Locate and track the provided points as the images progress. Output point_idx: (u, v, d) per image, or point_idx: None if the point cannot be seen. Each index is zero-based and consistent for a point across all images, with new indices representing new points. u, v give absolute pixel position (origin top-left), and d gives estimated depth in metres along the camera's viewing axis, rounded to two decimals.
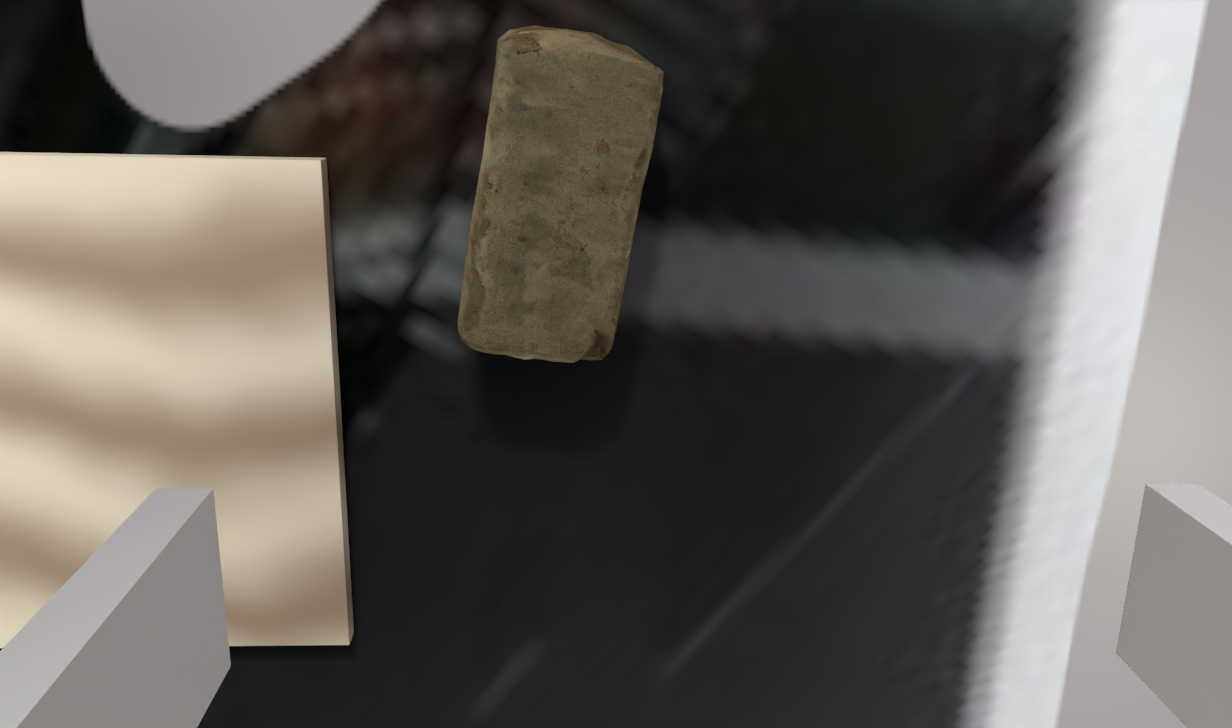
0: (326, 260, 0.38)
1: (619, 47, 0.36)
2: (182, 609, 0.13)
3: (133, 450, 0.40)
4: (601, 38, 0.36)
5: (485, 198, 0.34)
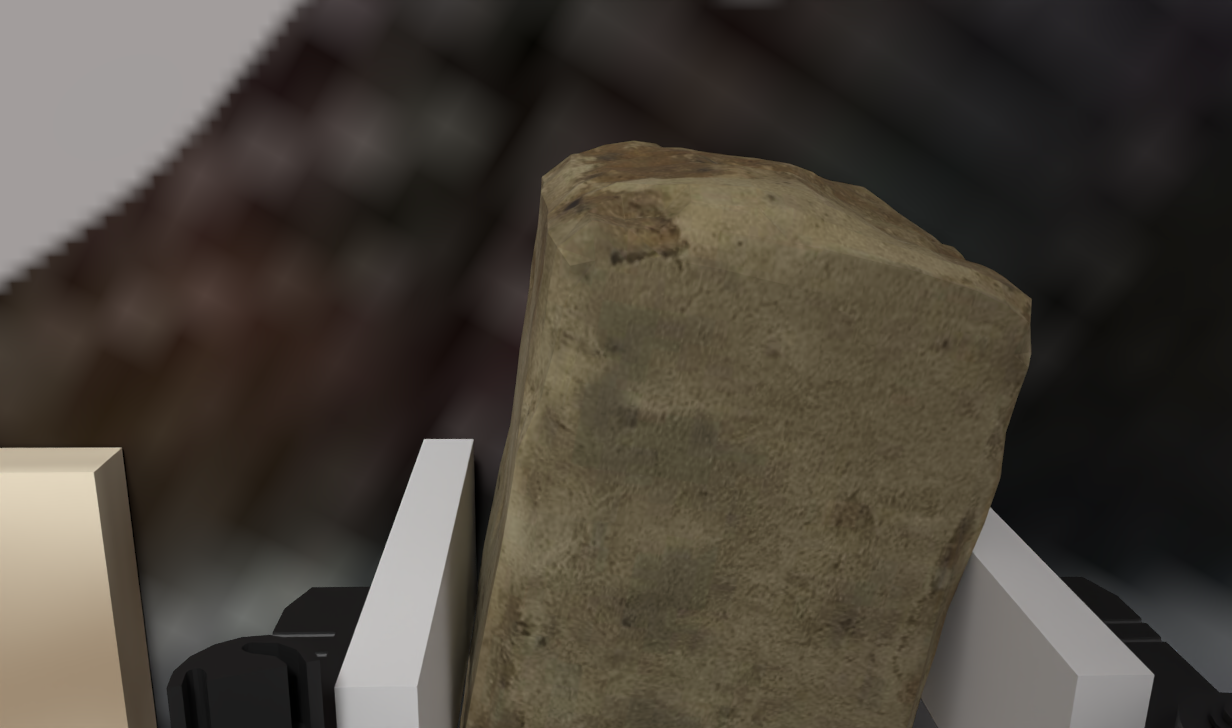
0: (124, 690, 0.16)
1: (856, 199, 0.14)
2: (466, 539, 0.14)
3: None
4: (814, 179, 0.13)
5: (507, 658, 0.12)
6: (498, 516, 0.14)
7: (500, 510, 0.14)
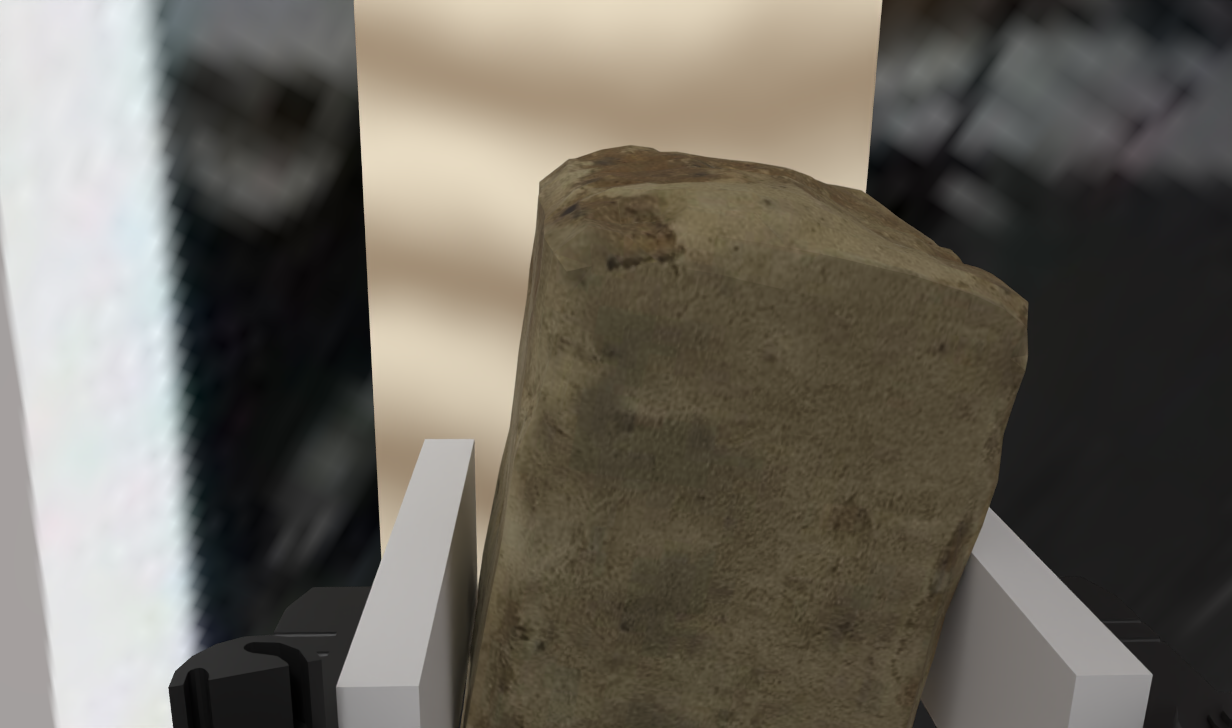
0: (873, 94, 0.30)
1: (853, 203, 0.14)
2: (467, 539, 0.14)
3: None
4: (811, 182, 0.13)
5: (507, 663, 0.12)
6: (497, 520, 0.14)
7: (499, 514, 0.14)
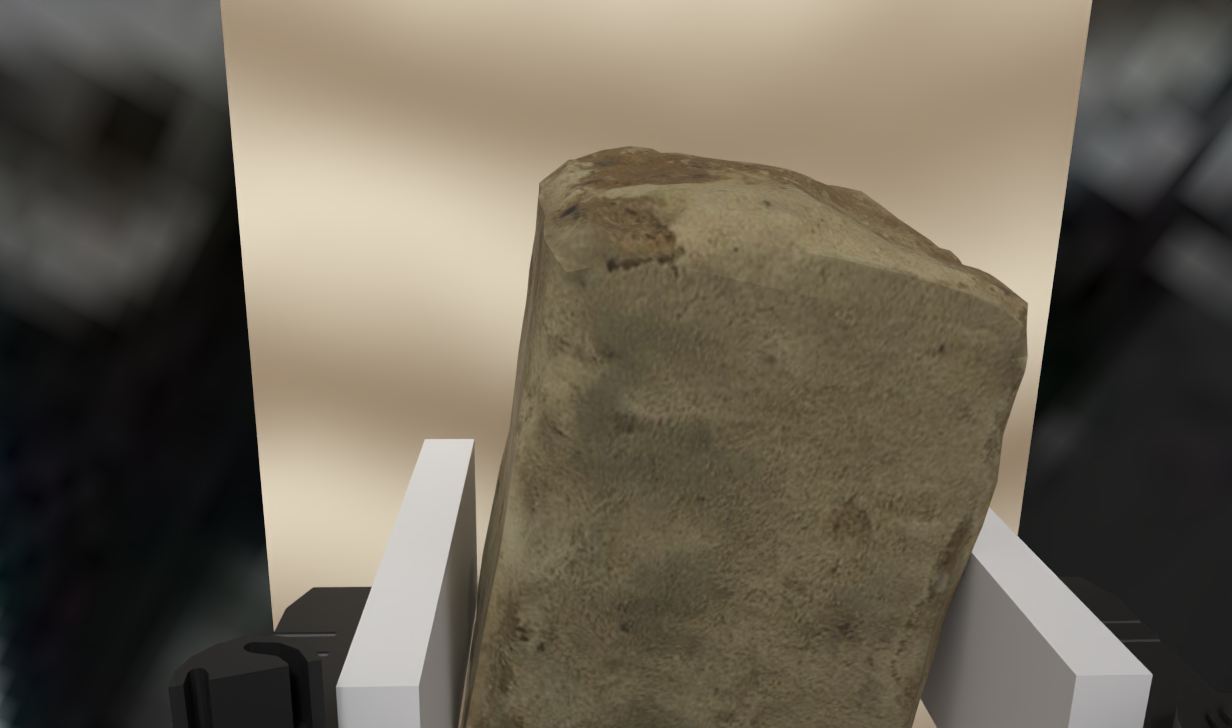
0: (1076, 107, 0.18)
1: (853, 204, 0.14)
2: (467, 539, 0.14)
3: None
4: (811, 183, 0.13)
5: (507, 664, 0.12)
6: (497, 521, 0.14)
7: (499, 515, 0.14)
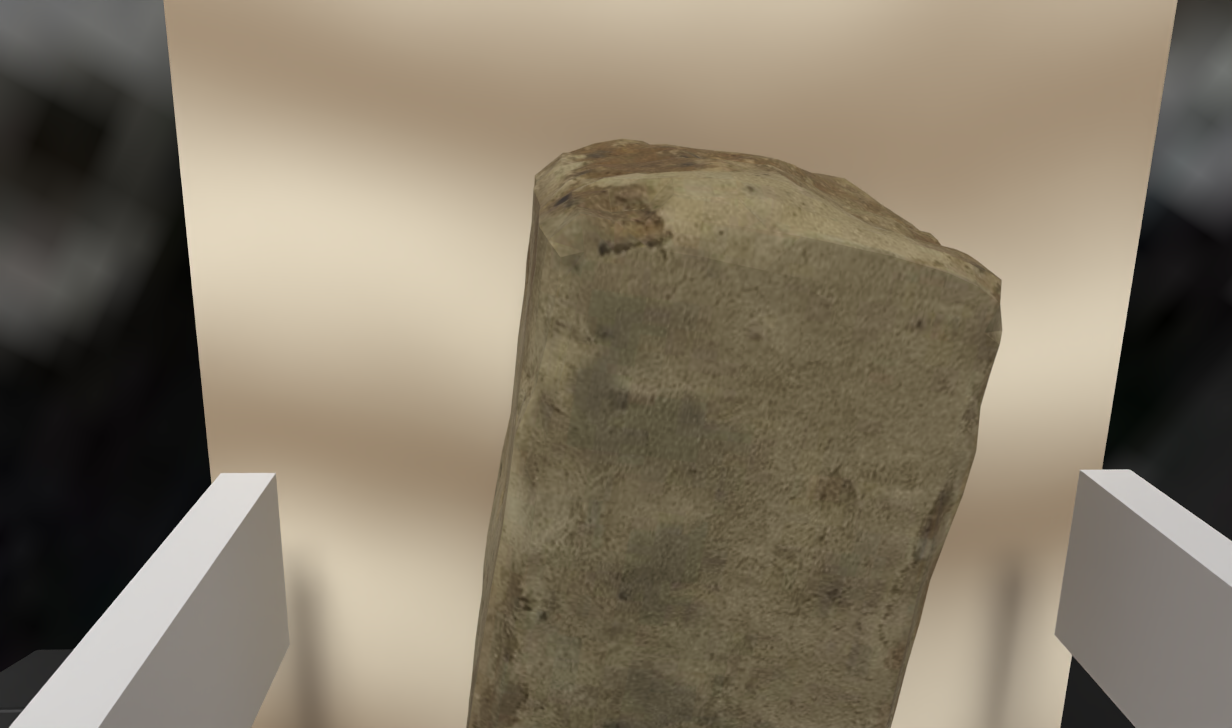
0: (1158, 112, 0.16)
1: (836, 190, 0.14)
2: (251, 587, 0.13)
3: None
4: (795, 171, 0.14)
5: (511, 632, 0.12)
6: (500, 501, 0.15)
7: (502, 495, 0.15)
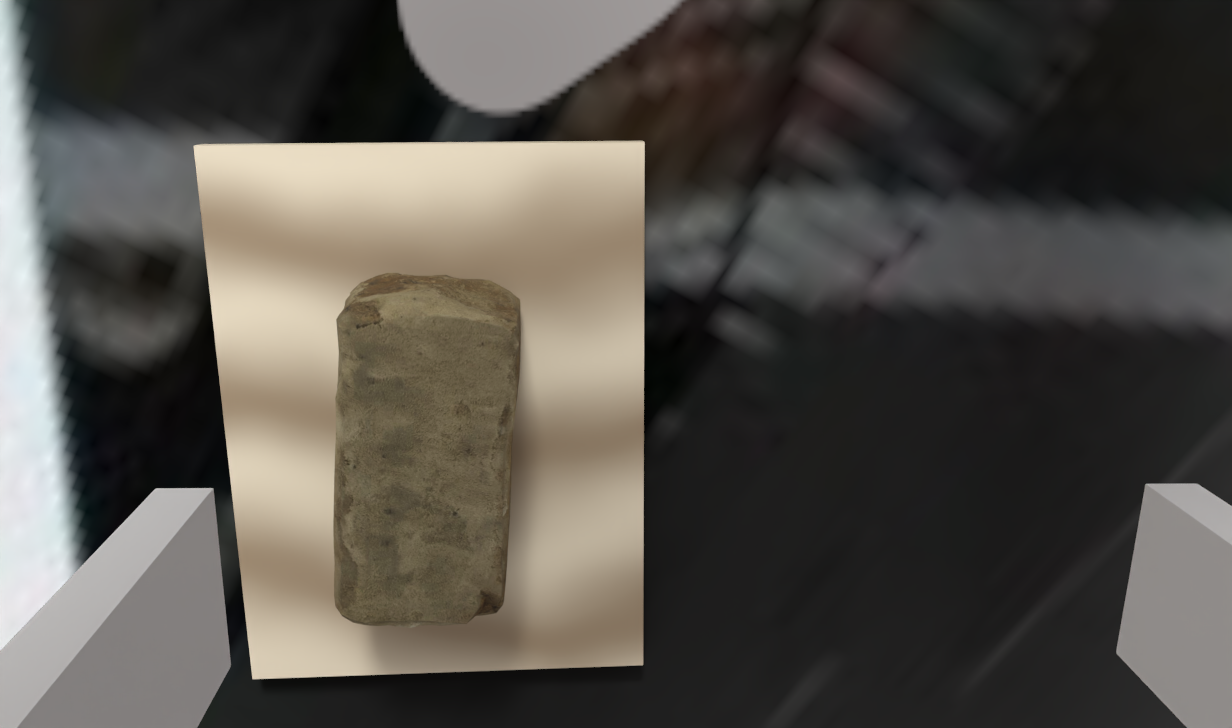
0: None
1: (478, 287, 0.34)
2: (182, 609, 0.13)
3: None
4: (456, 282, 0.34)
5: (343, 475, 0.32)
6: None
7: None
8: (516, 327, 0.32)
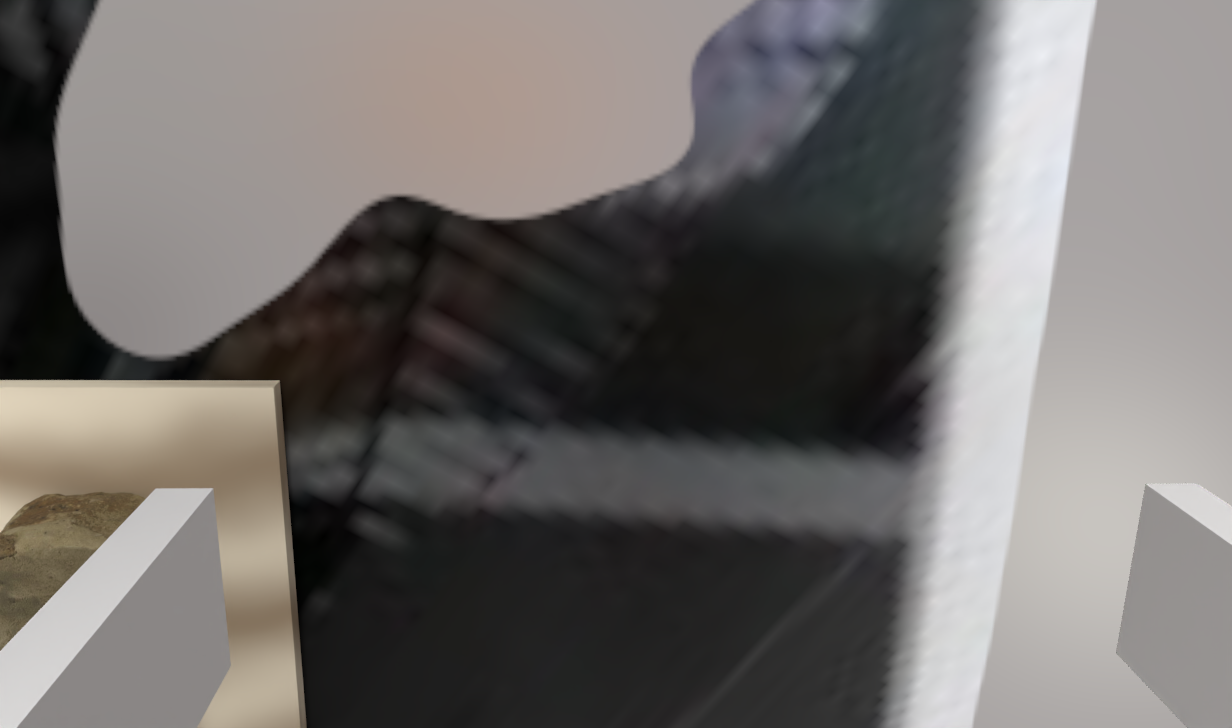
0: (280, 470, 0.43)
1: (122, 505, 0.41)
2: (182, 609, 0.13)
3: None
4: (101, 504, 0.41)
5: None
6: None
7: None
8: None
